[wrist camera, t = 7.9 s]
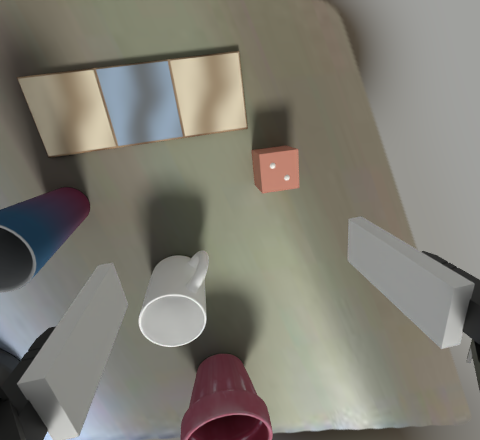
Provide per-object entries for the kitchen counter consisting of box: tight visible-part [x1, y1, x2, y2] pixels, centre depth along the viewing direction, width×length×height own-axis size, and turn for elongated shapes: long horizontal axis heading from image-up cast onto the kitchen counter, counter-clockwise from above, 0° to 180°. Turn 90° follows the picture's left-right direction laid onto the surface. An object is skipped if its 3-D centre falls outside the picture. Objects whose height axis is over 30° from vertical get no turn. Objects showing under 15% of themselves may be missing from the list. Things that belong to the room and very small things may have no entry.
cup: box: [0, 187, 90, 292], centre depth 29 cm, size 7×7×15 cm
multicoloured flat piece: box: [17, 51, 248, 158], centre depth 33 cm, size 26×9×1 cm, turn 97°
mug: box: [139, 250, 209, 347], centre depth 37 cm, size 12×8×10 cm
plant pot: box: [181, 354, 272, 440], centre depth 45 cm, size 14×14×13 cm
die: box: [252, 146, 299, 193], centre depth 36 cm, size 5×5×5 cm
